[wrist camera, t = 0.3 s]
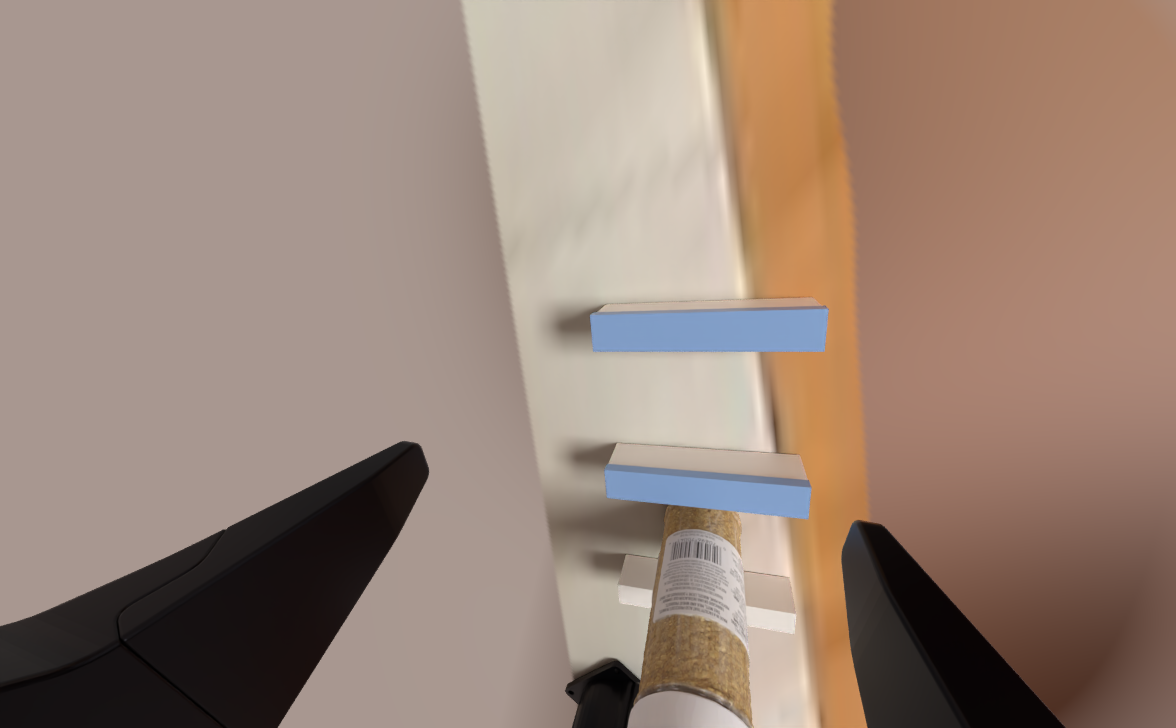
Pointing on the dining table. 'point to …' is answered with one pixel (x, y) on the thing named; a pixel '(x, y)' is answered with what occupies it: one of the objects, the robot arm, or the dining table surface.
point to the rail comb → (712, 472)
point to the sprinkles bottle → (696, 627)
